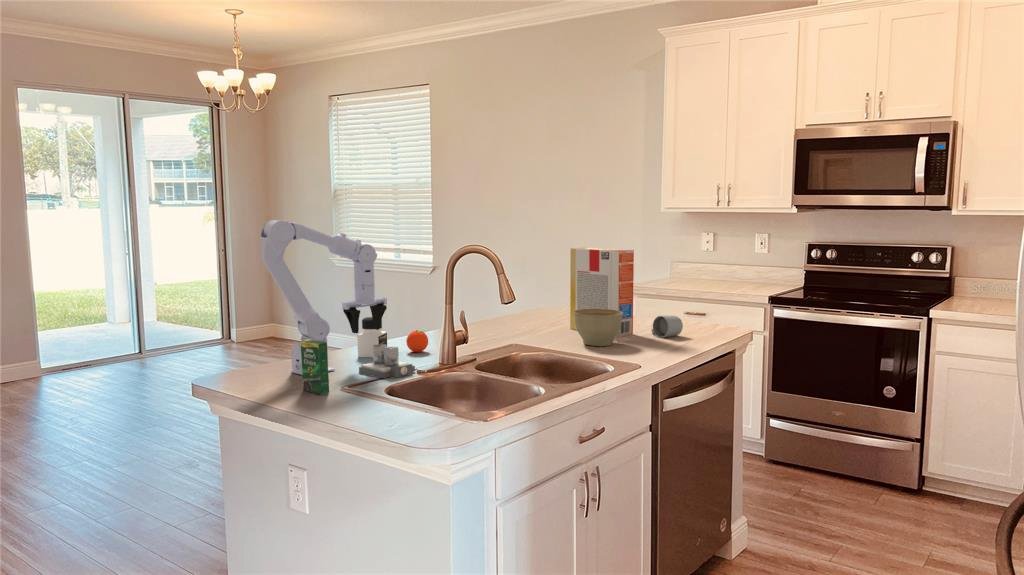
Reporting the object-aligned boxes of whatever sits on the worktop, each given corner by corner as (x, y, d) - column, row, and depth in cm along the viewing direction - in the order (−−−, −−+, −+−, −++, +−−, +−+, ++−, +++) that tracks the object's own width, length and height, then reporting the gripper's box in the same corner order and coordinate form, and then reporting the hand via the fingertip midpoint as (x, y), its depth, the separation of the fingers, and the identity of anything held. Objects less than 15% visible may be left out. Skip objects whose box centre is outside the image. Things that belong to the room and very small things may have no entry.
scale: (388, 379, 200) (388, 369, 199) (359, 372, 208) (358, 362, 208) (419, 372, 208) (419, 362, 208) (390, 365, 217) (389, 356, 216)
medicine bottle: (379, 358, 227) (378, 319, 226) (357, 357, 229) (356, 318, 227) (387, 353, 234) (386, 315, 233) (366, 352, 236) (365, 315, 234)
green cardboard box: (301, 390, 189) (299, 339, 188) (311, 388, 191) (309, 338, 190) (320, 395, 184) (318, 343, 182) (330, 393, 186) (328, 341, 185)
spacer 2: (388, 367, 204) (388, 349, 204) (381, 365, 207) (381, 347, 207) (401, 365, 207) (400, 347, 206) (394, 363, 210) (393, 345, 209)
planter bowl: (611, 350, 236) (612, 316, 235) (565, 345, 244) (565, 313, 243) (629, 342, 250) (630, 310, 249) (585, 337, 258) (586, 306, 257)
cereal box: (632, 334, 265) (633, 250, 261) (618, 337, 260) (618, 251, 256) (585, 326, 282) (585, 247, 278) (570, 329, 277) (570, 248, 273)
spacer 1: (378, 365, 208) (378, 347, 207) (370, 363, 210) (369, 345, 210) (390, 362, 210) (390, 345, 210) (382, 360, 213) (381, 343, 213)
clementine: (429, 349, 241) (429, 327, 240) (433, 353, 234) (433, 330, 234) (404, 350, 239) (404, 328, 238) (408, 354, 232) (408, 332, 231)
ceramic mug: (684, 336, 259) (684, 314, 258) (668, 339, 255) (668, 317, 254) (661, 333, 268) (661, 311, 267) (645, 335, 263) (645, 313, 262)
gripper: (352, 288, 208) (353, 336, 210) (392, 283, 219) (394, 329, 221) (337, 286, 213) (339, 333, 214) (377, 282, 224) (379, 326, 225)
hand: (365, 331), depth 218 cm, fingers open, 7 cm apart
